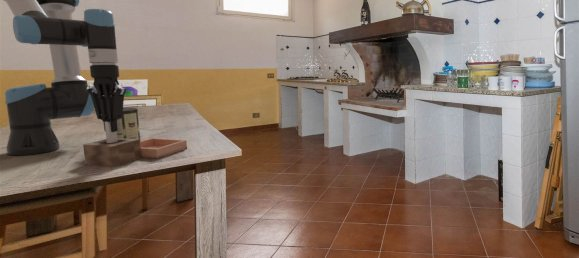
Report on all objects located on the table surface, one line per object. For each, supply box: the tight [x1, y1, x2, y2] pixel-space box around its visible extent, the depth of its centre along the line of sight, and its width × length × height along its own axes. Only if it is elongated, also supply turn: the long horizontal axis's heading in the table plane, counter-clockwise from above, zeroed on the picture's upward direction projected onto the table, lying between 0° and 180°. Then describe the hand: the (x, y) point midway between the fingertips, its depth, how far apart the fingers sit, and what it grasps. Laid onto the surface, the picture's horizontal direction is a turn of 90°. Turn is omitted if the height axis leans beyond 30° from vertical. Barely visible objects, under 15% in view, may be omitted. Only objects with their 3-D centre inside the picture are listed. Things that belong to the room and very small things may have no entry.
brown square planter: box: [82, 138, 142, 168], centre depth 106 cm, size 11×11×6 cm
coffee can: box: [117, 107, 141, 140], centre depth 124 cm, size 10×10×14 cm
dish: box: [140, 137, 188, 160], centre depth 117 cm, size 15×15×3 cm
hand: (112, 142), depth 106 cm, fingers closed
